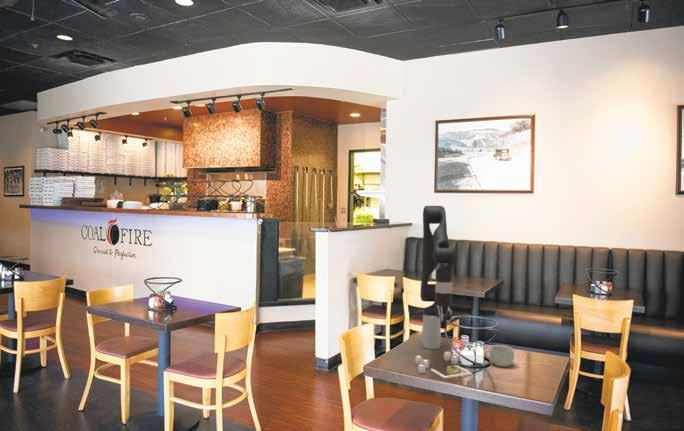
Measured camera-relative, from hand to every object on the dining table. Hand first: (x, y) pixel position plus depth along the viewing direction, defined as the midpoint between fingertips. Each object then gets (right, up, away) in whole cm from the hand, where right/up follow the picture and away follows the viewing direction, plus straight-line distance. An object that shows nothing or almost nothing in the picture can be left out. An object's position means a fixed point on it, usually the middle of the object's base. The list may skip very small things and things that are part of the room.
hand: (443, 328), depth 223 cm
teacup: (+27, -19, +5) cm, 33 cm away
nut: (+3, -19, -6) cm, 20 cm away
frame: (+2, -18, -5) cm, 19 cm away
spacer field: (-1, -18, +2) cm, 18 cm away
